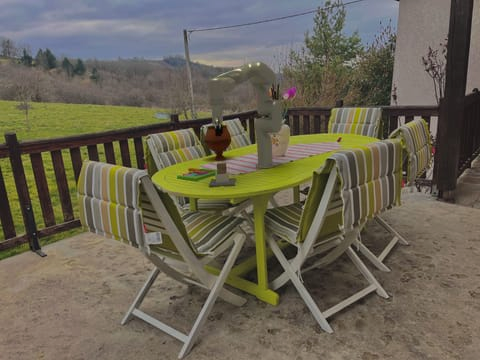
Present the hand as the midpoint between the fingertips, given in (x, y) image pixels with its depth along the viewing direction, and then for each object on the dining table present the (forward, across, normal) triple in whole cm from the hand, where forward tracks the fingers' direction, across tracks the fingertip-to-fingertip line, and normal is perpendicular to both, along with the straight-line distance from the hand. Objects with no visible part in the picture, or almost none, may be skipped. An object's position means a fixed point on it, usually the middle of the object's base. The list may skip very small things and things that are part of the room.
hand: (219, 134), depth 200 cm
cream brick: (+26, 0, 0) cm, 26 cm away
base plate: (+27, 0, 0) cm, 27 cm away
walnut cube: (+21, 0, 0) cm, 21 cm away
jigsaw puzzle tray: (+28, -23, -20) cm, 41 cm away
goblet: (+28, -70, -8) cm, 75 cm away
